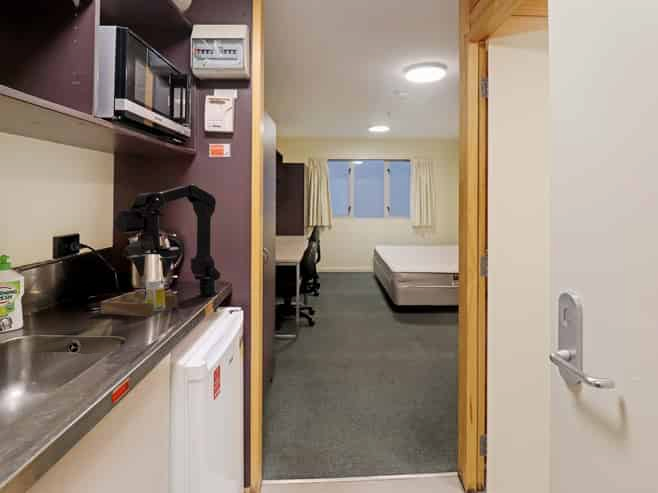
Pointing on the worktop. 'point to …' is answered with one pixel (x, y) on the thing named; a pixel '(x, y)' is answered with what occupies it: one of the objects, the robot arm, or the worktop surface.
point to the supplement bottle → (155, 295)
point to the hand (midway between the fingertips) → (153, 277)
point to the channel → (134, 304)
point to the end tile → (164, 309)
